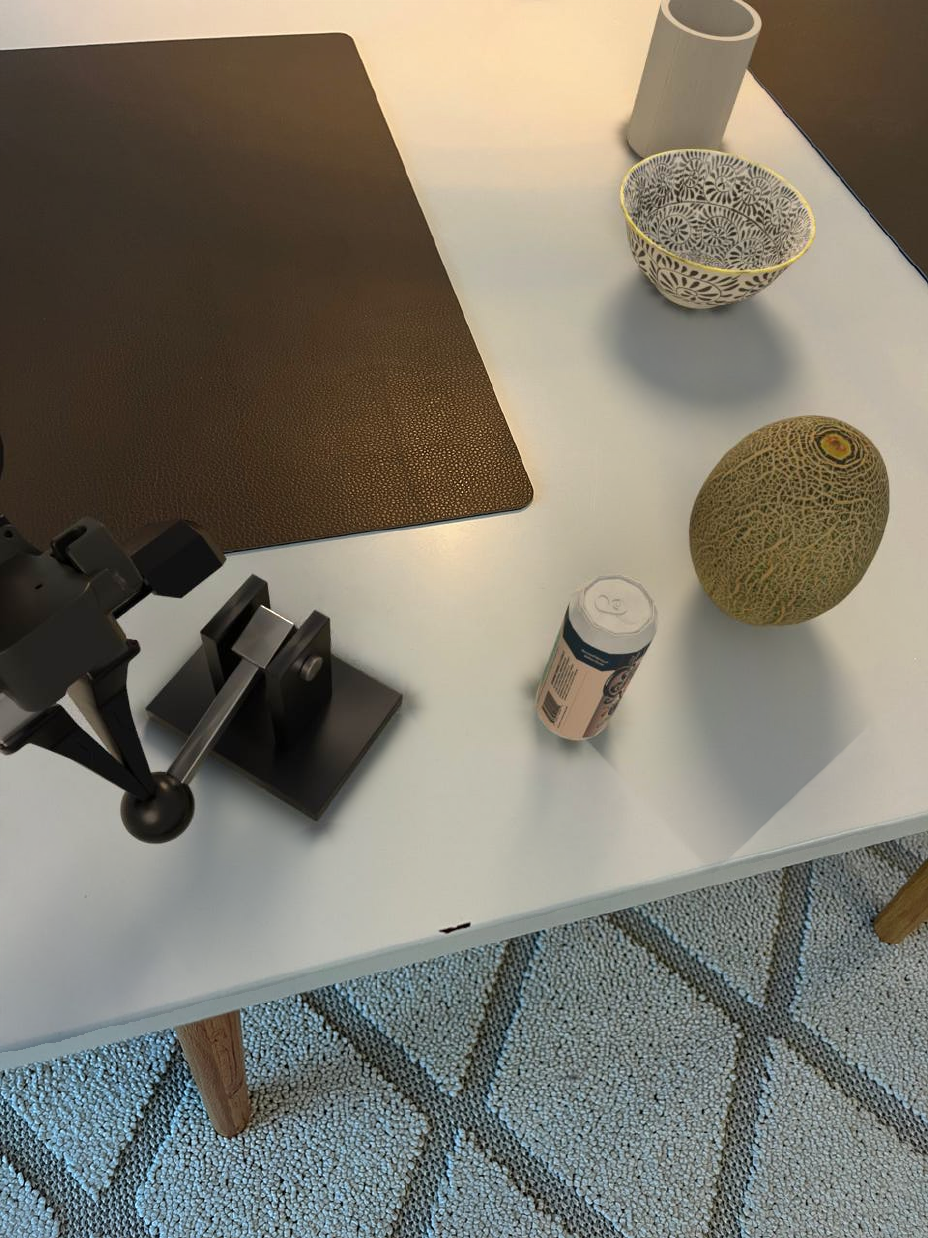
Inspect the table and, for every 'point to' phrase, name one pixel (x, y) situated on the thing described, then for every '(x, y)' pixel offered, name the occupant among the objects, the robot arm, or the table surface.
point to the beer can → (595, 655)
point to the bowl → (712, 225)
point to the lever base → (281, 706)
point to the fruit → (789, 520)
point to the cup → (692, 75)
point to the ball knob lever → (205, 735)
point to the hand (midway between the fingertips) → (148, 795)
